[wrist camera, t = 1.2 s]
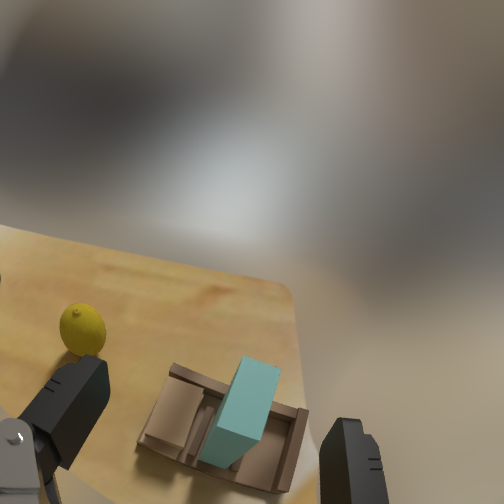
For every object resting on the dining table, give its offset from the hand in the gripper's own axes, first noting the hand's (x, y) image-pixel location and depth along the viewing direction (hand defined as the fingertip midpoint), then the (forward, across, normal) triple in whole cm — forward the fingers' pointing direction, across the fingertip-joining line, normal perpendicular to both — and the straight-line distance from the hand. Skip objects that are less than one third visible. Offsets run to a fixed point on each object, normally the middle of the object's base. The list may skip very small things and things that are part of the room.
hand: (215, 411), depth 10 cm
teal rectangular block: (+13, -1, +21) cm, 25 cm away
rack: (+15, -1, +22) cm, 26 cm away
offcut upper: (+14, +5, +19) cm, 24 cm away
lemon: (+19, +18, +19) cm, 32 cm away
